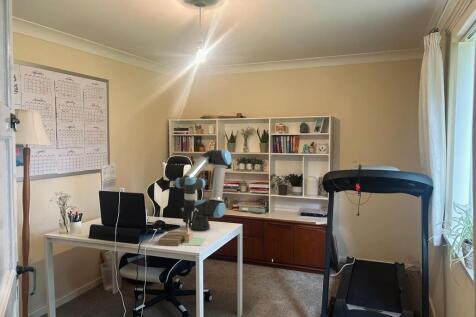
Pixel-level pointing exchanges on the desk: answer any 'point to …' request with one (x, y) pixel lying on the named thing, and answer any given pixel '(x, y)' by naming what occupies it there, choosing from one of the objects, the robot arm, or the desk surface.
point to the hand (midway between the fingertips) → (188, 232)
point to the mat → (195, 241)
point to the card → (189, 236)
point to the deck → (173, 238)
